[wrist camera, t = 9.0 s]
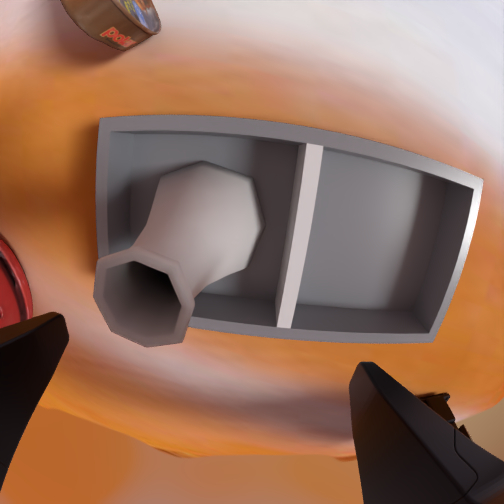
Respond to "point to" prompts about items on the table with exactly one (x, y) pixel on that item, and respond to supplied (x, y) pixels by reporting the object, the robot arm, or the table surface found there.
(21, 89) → the table surface
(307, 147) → the caddy
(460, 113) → the table surface
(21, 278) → the plant pot
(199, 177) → the flask
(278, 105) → the table surface
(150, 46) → the table surface
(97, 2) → the tin
